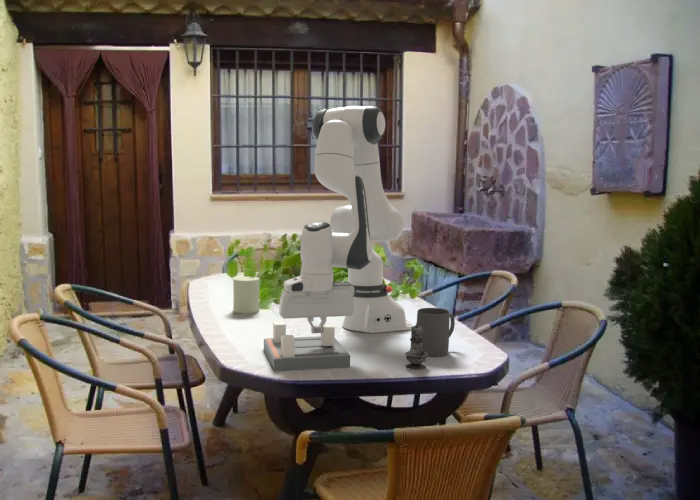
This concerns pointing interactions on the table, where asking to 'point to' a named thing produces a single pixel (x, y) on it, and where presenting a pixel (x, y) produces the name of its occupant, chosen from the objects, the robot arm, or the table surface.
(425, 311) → the mug
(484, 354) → the table surface
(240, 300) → the can
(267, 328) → the table surface
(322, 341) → the handle
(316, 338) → the breaker panel
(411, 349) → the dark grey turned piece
